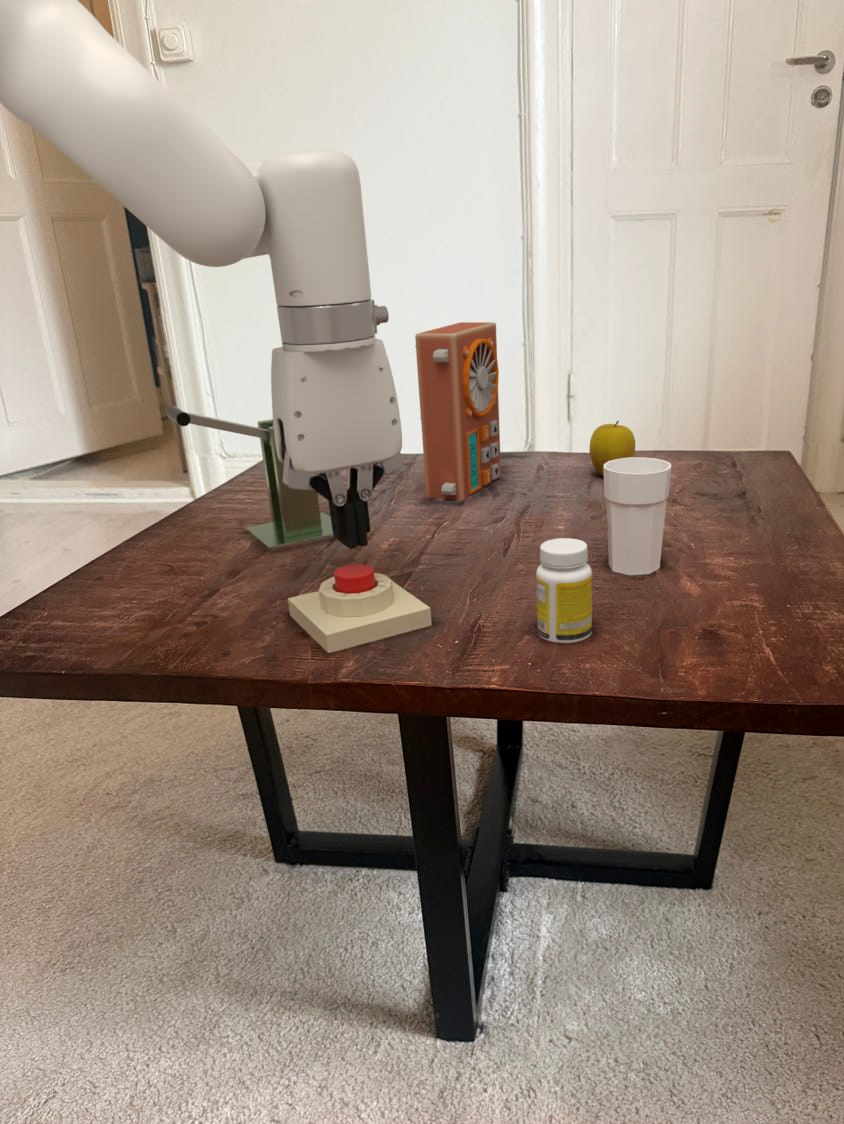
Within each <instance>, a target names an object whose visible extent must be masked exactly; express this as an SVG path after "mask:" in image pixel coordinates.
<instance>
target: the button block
mask: <svg viewBox="0 0 844 1124" xmlns="http://www.w3.org/2000/svg"><path fill="white" fill-rule="evenodd" d="M374 575H375V585H376V587H375V588H373V589H372V590H370V591H366V592H362V593H354V594H345V593H340V592H337V591H336V586H335V578H334V576H332V577H330V578H328V579H326V580H324V581H322V582H321V584H320V586H319V588H318V590H317V591H313V592H309V593H305V594H301V595H296V596H291V597H288V598H287V604H288V610H289V612H288V613H289V616H290V617H291V618H292V619H293V620H294V621H295V622H296V623H297V624H298V625H299V626H300V627H301V628H302V629H303V630H304V631H305V632H306V633H307V634H308V635H309V636H310V637H311V638H312V639H313V640H314V641H315V642H316V643H317V644H318V645H319V646H320V647H321V648H322V649H323V650H324V651H325V652H326V653H328V654H331V653H334V652H338V651H342V650H345V649H350V648H353V647H357V646H360V645H361V646H362V645H365V644H367V643H372V642H375V641H380V640H383V639H386V638H390V637H394V636H398V635H401V634H405V633H409V632H413V631H416V630H420V629H424V628H427V627H431V626H432V625H433V624H432V609H431V607H430V606H428V605H427V604H425V603H424V602H423V601H421V599H419V598H417V597H416V596H414V595H413V594H412V593H410V592H409V591H407V589H404V588H403V587H402V586H400V585H398V583H396V582H394V581H393V580H392V578H389V577H388V576H387V575H386V574H383V573H378V572H374Z"/></svg>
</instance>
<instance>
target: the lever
mask: <svg viewBox="0 0 844 1124" xmlns="http://www.w3.org/2000/svg"><path fill="white" fill-rule="evenodd" d="M165 415H166V416H167V418H169V419H170V420H171V421H173V422H174V423H176V424H177V425H179V426H181V427H187V426H189V425H190V424H191V425H195V426H201V427H205V428H208V429H209V428H210V429H213V430H214V429H215V430H220V431H225V432H229V433H235V434H239V435H245V436H249V437H252V438H253V437H254V438H258V439H260V438H263V439H268V440H269V445H271V441H270V434H269V430H268V429H263V428H259V427H258V426H253V425H248V424H245V423H244V424H243V423H240V422H234V421H229V420H225V419H221V418H215V417H211V416H205V415H200V414H196V413H191V412H186V411H184V410H182V409H181V408H179V407H178V406H175V405H170V406H168V407H167V408H166V410H165ZM272 427H273V424H272Z"/></svg>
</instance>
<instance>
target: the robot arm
mask: <svg viewBox="0 0 844 1124" xmlns="http://www.w3.org/2000/svg"><path fill="white" fill-rule="evenodd" d="M0 105H2V106H3V107H4V109H6V110H7V111H8V112H9V113H11V114H12V115H13V116H14V117H15V118H16V119H18V120H20V121H21V122H22V123H24V124H26V125H27V126H29V127H30V128H32V129H33V130H35V131H36V132H37V133H39V134H40V135H42V136H43V137H44V138H45V139H46V140H48V141H49V142H50V143H51V144H53V145H54V146H55V147H56V148H57V149H58V150H59V151H61V152H62V153H63V154H64V155H65V156H66V157H68V159H70V160H71V161H72V162H73V163H74V164H75V165H76V166H77V167H78V168H80V169H81V170H82V171H83V172H84V173H85V174H87V175H88V176H89V177H90V178H91V179H93V181H95V182H96V183H97V184H98V185H99V187H101V188H103V189H104V190H105V191H106V192H107V193H108V194H109V195H110V196H112V197H113V198H114V199H115V200H116V201H117V202H118V203H119V204H121V205H122V206H123V207H124V208H125V209H126V210H128V211H129V212H130V213H131V214H132V215H133V216H134V217H136V219H138V220H139V221H140V222H141V223H143V224H144V225H145V227H147V228H148V229H149V230H150V231H151V232H152V233H154V234H155V235H156V236H157V237H158V238H160V240H162V241H163V242H164V243H165V244H166V245H167V246H169V247H170V248H171V249H172V251H174V252H175V253H177V254H178V255H180V256H181V257H182V258H184V259H185V260H188V261H190V262H192V263H193V264H197V265H200V266H203V267H210V268H222V267H227V266H228V267H229V266H231V265H235V264H237V263H239V262H240V261H242V260H245V259H249V258H255V257H260V256H267V255H268V257H269V260H270V266H271V274H272V281H273V288H274V297H275V303H276V311H277V317H278V318H277V319H278V326H279V332H280V339H281V346H280V347H279V346H278V347H274V348H272V350H271V367H270V382H271V383H270V384H271V385H270V386H271V389H270V390H271V392H270V393H271V408H272V411H271V412H272V419H273V426H274V437H275V445H276V451H277V455H278V458H279V460H280V462H281V463H283V464H284V469H283V483H284V485H286V486H287V487H289V488H291V489H301V490H315V491H316V492H317V493H318V495H320V496H321V497H323V499H325V500H327V501H328V507H329V516H330V517H331V524H332V531H333V534H332V535H333V536H334V539H336V540H338V542H339V543H341V545H343V546H345V547H346V548H348V549H349V550H354V549H357V547H359V546H360V547H361V548H362V547H367V546H368V544H369V542H368V541H369V540H368V533H370V532H371V520H370V514H369V513H370V512H369V503H368V501H370V500H371V498H372V497H373V491H374V490H375V488H376V486H377V485H378V484H379V483H380V481H381V479H382V478H383V477H384V476H388V475H389V474H392V473H394V472H396V471H398V470H400V469H402V468H403V466H404V460H403V456H402V453H401V452H402V448H403V431H402V423H401V422H402V421H401V415H400V406H399V402H398V396H397V391H396V387H395V380H394V375H393V373H392V368H391V365H390V361H389V357H388V353H387V351H386V347H385V344H384V341H383V340H382V339H380V338H376V334H378V326H380V325H381V324H386V323H388V322H389V318H390V315H389V309H388V308H387V306H386V305H377V304H375V299H372V288H371V279H370V277H371V276H370V268H369V258H368V257H369V256H368V247H367V246H368V245H367V235H366V227H365V215H364V206H363V196H362V186H361V185H362V184H361V178H360V177H361V176H360V171H359V168H358V166H357V163H356V162H355V160H353V159H354V158H352V157H351V156H350V155H348V154H346V153H344V152H341V151H333V150H306V151H305V150H303V151H291V152H289V151H288V152H282V153H278V154H273V155H271V156H269V157H267V158H266V159H265V160H263V161H262V160H261V161H260V160H258V161H257V160H241V158H239V157H238V155H237V154H235V153H234V152H233V151H232V150H231V149H230V148H229V147H228V146H227V145H226V143H225V142H223V140H221V139H220V138H219V137H218V136H217V135H216V134H215V133H214V132H212V130H211V129H210V128H208V126H206V124H204V123H203V122H202V121H201V120H200V119H199V118H198V117H197V116H196V115H195V114H194V113H193V111H191V110H190V109H189V108H188V107H187V106H186V105H185V104H184V103H182V102H181V100H180V99H178V98H177V97H176V96H175V95H174V94H173V93H172V92H171V91H170V90H169V89H168V88H167V87H166V86H165V85H164V84H163V83H162V82H161V81H160V80H158V78H157V77H155V75H154V74H152V73H151V72H150V71H149V70H148V69H147V68H146V67H145V66H144V65H142V63H140V62H139V60H137V59H136V57H134V56H133V55H132V54H131V53H130V51H128V50H127V49H126V48H125V47H123V45H121V44H120V43H119V42H118V41H117V40H116V39H115V38H114V37H113V36H112V35H111V34H110V33H109V32H108V31H107V30H106V29H105V27H104V26H103V25H102V23H100V22H99V20H98V19H97V18H96V17H95V16H94V14H93V13H91V11H89V9H87V8H86V7H85V6H84V5H83V4H82V2H80V1H79V0H0ZM342 470H347V483H346V484H347V485H346V486H347V488H346V489H347V490H346V489H345V486H344V482H343V478H342V475H341V471H342Z"/></svg>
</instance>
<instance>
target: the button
mask: <svg viewBox="0 0 844 1124" xmlns="http://www.w3.org/2000/svg"><path fill="white" fill-rule="evenodd" d="M374 573H375V569H374V568H373V566H371V565H369V564H363V563H361V564H360V563H354V564H347V565H344V566H341V567H338V568H337V569H335V570H334V571H333V577H334V578H335V586H336V591H337V592H340V593H345V594H354V593H362V592H366V591H370V590H372V589H373V588H375V587H376V585H375V575H374Z"/></svg>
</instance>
